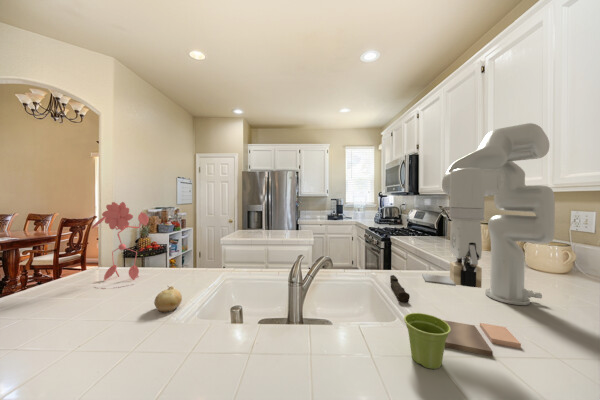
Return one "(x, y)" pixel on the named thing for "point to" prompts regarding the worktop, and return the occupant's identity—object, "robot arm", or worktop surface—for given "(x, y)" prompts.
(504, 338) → the tile
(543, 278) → the worktop surface
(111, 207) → the figurine
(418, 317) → the plant pot
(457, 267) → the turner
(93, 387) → the worktop surface
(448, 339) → the board
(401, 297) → the hand tool
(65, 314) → the worktop surface
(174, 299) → the onion
